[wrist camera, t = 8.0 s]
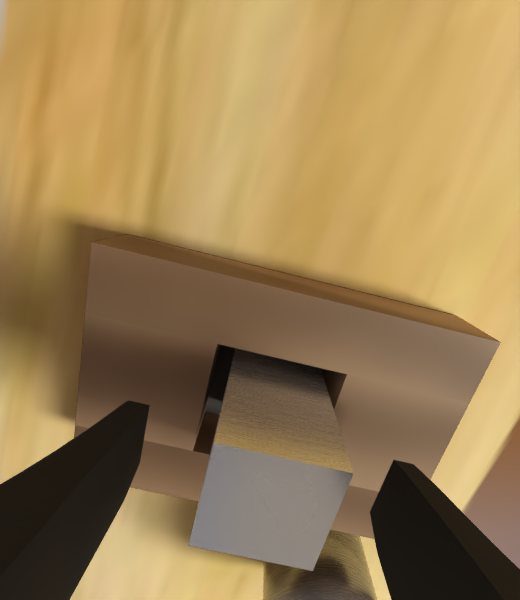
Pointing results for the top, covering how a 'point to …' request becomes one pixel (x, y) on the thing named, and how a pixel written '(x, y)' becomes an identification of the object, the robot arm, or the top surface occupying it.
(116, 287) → the bore block
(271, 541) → the square bit
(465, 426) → the top surface
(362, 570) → the round bit
